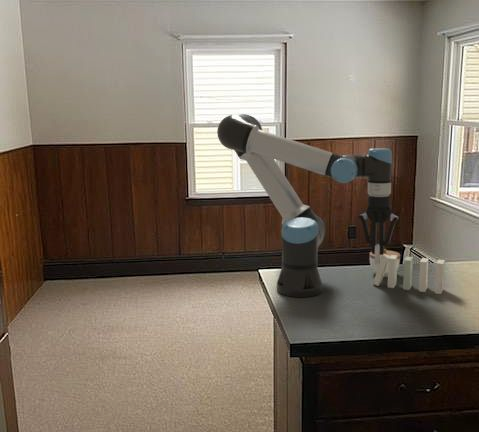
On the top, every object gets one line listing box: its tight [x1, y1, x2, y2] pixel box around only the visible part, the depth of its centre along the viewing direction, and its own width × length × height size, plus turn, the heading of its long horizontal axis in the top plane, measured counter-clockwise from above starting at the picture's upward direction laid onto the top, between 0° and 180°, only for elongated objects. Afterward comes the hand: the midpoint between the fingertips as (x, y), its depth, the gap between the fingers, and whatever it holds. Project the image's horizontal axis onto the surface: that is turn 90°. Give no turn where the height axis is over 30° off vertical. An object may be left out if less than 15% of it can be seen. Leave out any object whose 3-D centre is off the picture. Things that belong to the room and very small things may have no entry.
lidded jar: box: [369, 248, 401, 278], centre depth 189 cm, size 11×11×9 cm
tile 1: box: [372, 254, 390, 287], centre depth 178 cm, size 2×5×10 cm, turn 154°
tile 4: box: [418, 257, 430, 293], centre depth 172 cm, size 2×5×10 cm, turn 154°
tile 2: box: [387, 255, 398, 289], centre depth 177 cm, size 2×5×10 cm, turn 154°
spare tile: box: [402, 256, 414, 291], centre depth 174 cm, size 2×5×10 cm, turn 154°
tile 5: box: [434, 259, 446, 295], centre depth 170 cm, size 2×5×10 cm, turn 154°
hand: (377, 263), depth 178 cm, fingers closed
